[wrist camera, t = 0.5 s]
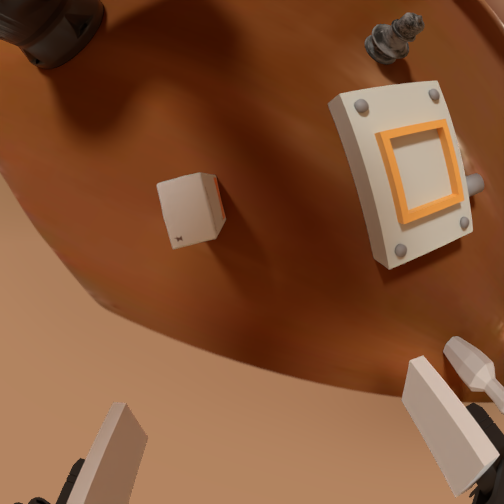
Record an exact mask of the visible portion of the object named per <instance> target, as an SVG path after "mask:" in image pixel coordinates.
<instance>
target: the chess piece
mask: <svg viewBox="0 0 504 504" xmlns="http://www.w3.org/2000/svg"><path fill="white" fill-rule="evenodd" d="M423 29H424V22H423V20H422V16H419V15H416V14H414V13H406V14H405V15H404V16H403V17H401V18H400V19H396V20H394V21H393V22H392V25H391V26H390V25H386V24H379V25H376V26H375V27H374V28H373V30H372V35H370V36H369V37H367V38H366V40H365V48H366V50H367V52H368V54H369V55H370V56H371V57H372V58H373V59H374V60H376V61H377V62H379V63H382V64H391V63H393V62H394V61H395V60H396V59H401V58H404V57H406V56H407V55H408V52H409V46H408V42H412V41H414V40H415V37H416V35H417V34H418V33H420V32H421V31H422V30H423Z"/></svg>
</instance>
